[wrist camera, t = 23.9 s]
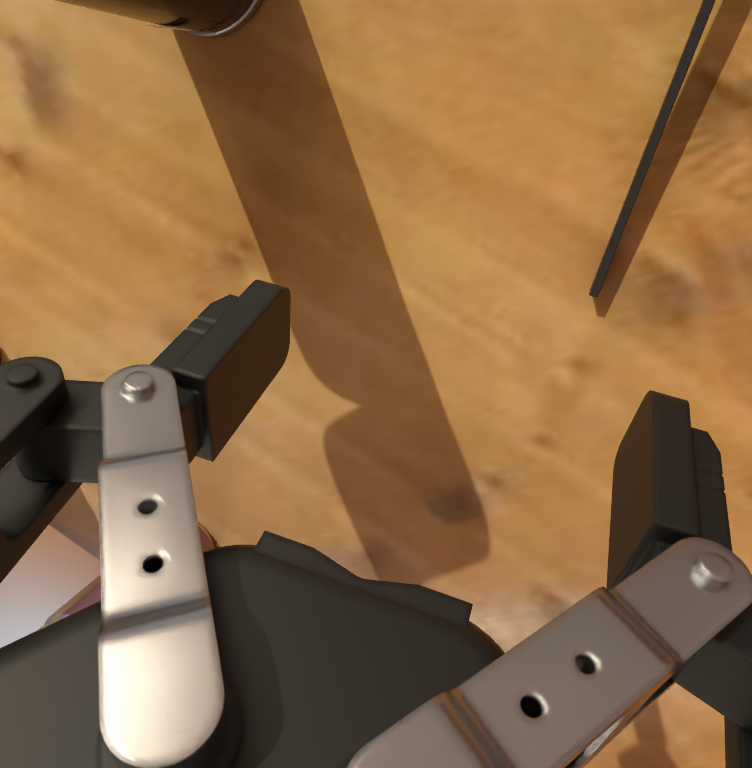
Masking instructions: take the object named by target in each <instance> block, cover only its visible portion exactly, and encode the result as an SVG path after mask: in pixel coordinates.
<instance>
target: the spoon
mask: <svg viewBox="0 0 752 768" xmlns="http://www.w3.org/2000/svg"><path fill="white" fill-rule="evenodd" d="M714 3H715V0H703V2H702V4H701V7H700V9H699V12H698V14H697V17H696V19H695V22H694V25H693V27H692V30H691V32H690V35H689V37H688V40H687V43H686V45H685V48H684V50H683V53H682V55H681V58H680V61H679V63H678V66H677V68H676V71H675V73H674V76H673V78H672V81H671V84H670V86H669V89H668V91H667V94H666V96H665V99H664V102H663V104H662V107H661V109H660V112H659V114H658V117H657V120H656V122H655V125H654V127H653V130H652V132H651V135H650V137H649V140H648V143H647V145H646V148H645V150H644V153H643V155H642V158H641V161H640V163H639V166H638V168H637V171H636V173H635V176H634V179H633V181H632V184H631V186H630V189H629V191H628V194H627V196H626V199H625V202H624V204H623V207H622V209H621V212H620V214H619V217H618V220H617V222H616V225H615V227H614V230H613V232H612V235H611V237H610V240H609V243H608V245H607V248H606V250H605V253H604V255H603V258H602V261H601V263H600V266H599V268H598V271H597V273H596V276H595V279H594V281H593V284H592V286H591V289H590V292H589V295H590V296H594V297H597V296H598V294H599V291H600V289H601V286H602V284H603V281H604V279H605V276H606V274H607V271H608V269H609V266H610V264H611V261H612V259H613V256H614V254H615V251H616V249H617V246H618V244H619V241H620V239H621V236H622V234H623V231H624V229H625V226H626V224H627V221H628V219H629V216H630V213H631V211H632V208H633V206H634V203H635V201H636V198H637V196H638V193H639V191H640V188H641V186H642V183H643V181H644V178H645V176H646V173H647V171H648V168H649V166H650V163H651V161H652V158H653V156H654V153H655V151H656V148H657V146H658V143H659V141H660V138H661V136H662V133H663V131H664V128H665V126H666V123H667V121H668V118H669V116H670V113H671V111H672V108H673V106H674V103H675V100H676V98H677V95H678V93H679V90H680V88H681V85H682V83H683V80H684V78H685V75H686V73H687V70H688V68H689V65H690V63H691V60H692V58H693V55H694V53H695V50H696V48H697V45H698V43H699V40H700V38H701V35H702V33H703V30H704V28H705V25H706V23H707V20H708V18H709V15H710V13H711V10H712V8H713V5H714Z"/></svg>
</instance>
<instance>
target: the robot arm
mask: <svg viewBox="0 0 752 768" xmlns="http://www.w3.org/2000/svg"><path fill="white" fill-rule="evenodd" d="M56 1H60V2H65V3H69V4H73V5H77V6H82V7H86V8H90V9H95V10H99V11H103V12H107V13H112V14H116V15H120V16H125V17H129V18H133V19H137V20H142V21H146V22H150V23H155V24H159V25H163V26H154V25H148V26H152V27H159V28H168V29H177V30H182V31H185V32H187V33H190V34H193V35H198V36H203V37H219V36H224V35H227V34H230V33H232V32H234V31H236V30H237V29H239V28H240V27H242V26H243V25H244V24H245V23H246V22H247V21H248V20H249V19H250V18H251V17H252V16H253V15H254V13H255V12H256V11H257V9H258V8H259V6H260V4H261V2H262V0H56ZM143 25H145V24H143ZM164 26H167V27H164ZM290 300H291V297H290V291H289V289H288V288H286V287H282V286H279V285H275V284H271V283H268V282H264V281H261V280H255V281H254V282H253V283H252V284H251V285H250V286H249V287H248V288H247V289H246V290H245V291H244V292H243V293H242V294H241V295H240V296H239V297H237V296H234V295H228V296H226V297H224V298H222V299H220V300H217V301H215V302H213V303H211V304H210V305H209V306H208V307H207V308H206V309H205V310H204V311H203V312H202V313H201V314H200V315H199V316H198V319H195V320H194V321H193V322H192V323H191V324H190V325H189V326H188V328H187V330H184V331H183V332H182V333H181V334H180V335H179V336H178V337H177V338H176V339H175V340H174V341H173V342H172V343H171V344H170V345H169V346H168V347H167V348H166V349H165V350H164V351H163V352H162V353H161V354H160V355H159V356H158V357H157V358H156V359H155V360H154V361H153V362H152V363H151V364H150V365H134V366H129V367H126V368H123V369H121V370H118V371H117V372H115V373H113V374H112V375H110V376H109V377H108V378H107V379H106V380H105V382H91V381H74V380H65V378H64V375H63V372H62V369H61V367H60V366H59V365H58V364H57V363H56V362H54V361H53V360H50V359H47V358H43V357H24V358H18V359H14V360H11V361H8V362H6V363H4V364H2V365H0V471H1V470H2V471H1V472H0V583H1V582H2V580H3V579H4V578H5V577H6V576H7V575H8V573H9V572H10V571H11V570H12V568H13V567H14V566H15V565H16V564H17V562H18V561H19V560H20V558H21V557H22V556H23V555H24V554H25V553H26V551H27V550H28V549H29V548H30V546H31V545H32V544H33V543H34V542H35V540H36V539H37V538H38V537H39V535H40V534H41V533H42V532H43V530H44V529H45V528H46V527H47V526H48V524H49V523H50V522H51V521H52V520H53V518H54V517H55V516H56V515H57V513H58V512H59V511H60V510H61V509H62V507H63V506H64V505H65V504H66V502H67V501H68V500H69V499H70V498H71V496H72V495H73V494H74V493H75V491H76V490H77V489H78V488H79V487H80V485H81V484H82V483H83V482H85V483H98V492H99V534H100V576H101V600H100V601H98V602H96V603H94V604H92V605H90V606H88V607H86V608H84V609H82V610H79V611H77V612H75V613H73V614H71V615H69V616H67V617H65V618H63V619H61V620H59V621H56V622H54V623H52V624H50V625H48V626H46V627H44V628H42V629H40V630H38V631H36V632H34V633H31V634H29V635H27V636H25V637H23V638H21V639H19V640H17V641H15V642H13V643H11V644H8V645H7V646H4V647H2V648H0V768H583V767H584V766H585V765H586V764H587V763H589V762H590V761H591V760H592V759H593V758H594V757H595V756H596V755H597V754H598V753H599V752H600V751H601V750H602V749H603V748H604V747H605V746H606V745H607V744H608V743H609V742H610V741H611V740H612V739H613V738H614V737H616V736H617V735H618V734H619V733H620V732H621V731H622V730H623V729H624V728H625V727H627V726H628V725H629V724H630V723H631V722H632V721H633V720H634V719H636V718H637V717H638V716H639V715H640V714H641V713H642V712H643V711H644V710H646V709H647V708H648V707H649V706H650V705H651V704H652V703H653V702H655V701H656V700H657V699H658V698H659V697H660V696H661V695H662V694H663V693H665V692H666V691H667V690H668V689H669V688H670V687H671V686H672V685H674V684H675V683H677V684H679V685H680V686H682V687H683V688H684V689H686V690H687V691H689V692H690V693H692V694H693V695H695V696H696V697H698V698H699V699H701V700H702V701H703V702H705V703H706V704H708V705H709V706H711V707H712V708H714V709H715V710H717V711H718V712H720V713H721V714H722V715H724V720H725V760H726V768H752V575H751V573H750V571H749V570H748V568H747V567H746V565H745V564H744V563H743V562H742V561H741V559H740V558H738V557H737V556H736V555H735V554H734V553H733V552H732V545H731V537H730V529H729V520H728V512H727V504H726V496H725V493H724V489H725V487H724V479H723V477H722V473H723V471H722V463H721V454H720V451H719V450H718V448H717V447H716V445H715V443H714V442H713V440H712V439H711V437H710V435H709V434H708V432H706V431H702V430H699V429H695V428H692V427H691V422H690V408H689V402H688V401H687V400H683V399H680V398H676V397H672V396H669V395H665V394H662V393H658V392H655V391H649V392H648V393H647V394H646V395H645V397H644V399H643V401H642V403H641V405H640V407H639V409H638V410H637V412H636V414H635V416H634V418H633V420H632V422H631V424H630V426H629V428H628V430H627V432H626V434H625V435H624V437H623V439H622V441H621V444H620V446H619V449H618V452H617V455H616V459H615V463H614V470H613V487H612V504H611V521H610V538H609V555H608V573H607V589H606V588H605V587H600V588H598V589H596V590H594V591H593V592H591V593H590V594H589V595H587V596H586V597H584V598H583V599H581V600H580V601H579V602H577V603H576V604H574V605H573V606H572V607H570V608H569V609H567V610H566V611H564V612H563V613H562V614H560V615H559V616H557V617H556V618H555V619H553V620H552V621H550V622H549V623H547V624H546V625H545V626H543V627H542V628H540V629H539V630H538V631H536V632H535V633H533V634H532V635H530V636H529V637H528V638H526V639H525V640H523V641H522V642H521V643H519V644H518V645H516V646H515V647H513V648H512V649H511V650H509V651H508V652H506V653H504V651H503V650H502V649H501V648H500V646H499V645H498V644H497V643H496V642H495V641H494V640H493V639H492V638H491V637H490V636H489V635H487V634H486V633H485V632H484V631H482V630H481V629H480V628H479V627H478V626H476V625H475V624H473V623H472V622H470V621H469V618H470V614H471V609H472V605H473V604H471V603H468V602H465V601H463V600H460V599H457V598H454V597H451V596H449V595H446V594H443V593H440V592H437V591H434V590H432V589H429V588H426V587H423V586H420V585H413V584H404V583H395V582H386V581H377V580H368V579H363V578H360V577H358V576H356V575H354V574H353V573H351V572H350V571H348V570H347V569H345V568H344V567H342V566H341V565H339V564H338V563H336V562H335V561H333V560H331V559H330V558H328V557H327V556H325V555H324V554H322V553H321V552H319V551H318V550H316V549H315V548H313V547H310V546H307V545H304V544H301V543H299V542H296V541H293V540H290V539H287V538H284V537H282V536H279V535H276V534H273V533H270V532H268V531H264V533H263V535H262V537H261V538H260V540H259V542H258V543H257V545H232V546H224V547H219V548H215V549H211V550H208V551H205V552H202V546H201V539H200V533H199V527H198V520H197V514H196V508H195V501H194V495H193V489H192V482H191V476H190V470H189V464H190V462H191V461H192V460H193V459H194V457H195V456H197V457H200V458H203V459H206V460H209V461H212V462H213V461H214V460H215V458H216V457H217V456H218V454H219V453H220V451H221V450H222V449H223V447H224V446H225V445H226V443H227V442H228V441H229V439H230V438H231V436H232V435H233V434H234V432H235V431H236V430H237V428H238V427H239V425H240V424H241V423H242V421H243V420H244V419H245V417H246V416H247V414H248V413H249V412H250V410H251V409H252V408H253V406H254V405H255V403H256V402H257V401H258V399H259V398H260V397H261V395H262V394H263V392H264V391H265V390H266V388H267V387H268V386H269V384H270V383H271V381H272V380H273V379H274V377H275V376H276V375H277V373H278V372H279V370H280V369H281V368H282V366H283V364H284V362H285V360H286V357H287V354H288V350H289V344H290ZM13 457H14V458H13ZM12 458H13V459H12ZM11 459H12V460H11ZM10 460H11V461H10ZM9 461H10V462H9ZM8 462H9V463H8ZM7 463H8V464H7ZM6 464H7V465H6ZM5 465H6V466H5Z"/></svg>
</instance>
